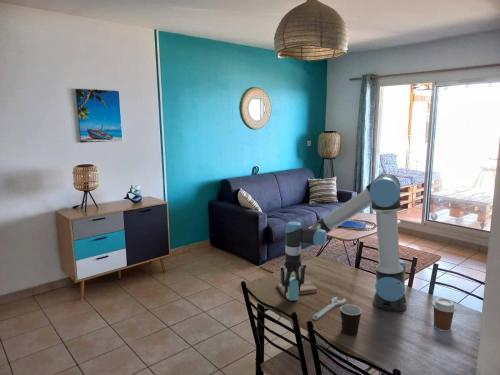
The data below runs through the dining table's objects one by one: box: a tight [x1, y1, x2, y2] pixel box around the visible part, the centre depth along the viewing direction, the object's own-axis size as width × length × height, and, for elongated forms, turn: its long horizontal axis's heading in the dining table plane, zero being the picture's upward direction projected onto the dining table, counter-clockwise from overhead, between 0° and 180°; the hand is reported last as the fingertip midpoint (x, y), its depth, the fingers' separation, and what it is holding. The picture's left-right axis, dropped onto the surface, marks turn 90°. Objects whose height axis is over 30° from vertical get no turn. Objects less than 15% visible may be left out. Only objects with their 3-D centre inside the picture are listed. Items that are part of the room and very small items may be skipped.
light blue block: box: [288, 276, 299, 302], centre depth 184 cm, size 11×4×10 cm, turn 13°
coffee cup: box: [431, 297, 457, 332], centre depth 156 cm, size 9×9×12 cm
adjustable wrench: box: [312, 296, 347, 321], centre depth 173 cm, size 25×6×2 cm, turn 132°
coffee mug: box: [339, 304, 362, 337], centre depth 155 cm, size 12×9×10 cm
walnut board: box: [276, 278, 318, 297], centre depth 193 cm, size 12×18×2 cm, turn 104°
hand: (292, 297), depth 182 cm, fingers closed on light blue block, 4 cm apart
